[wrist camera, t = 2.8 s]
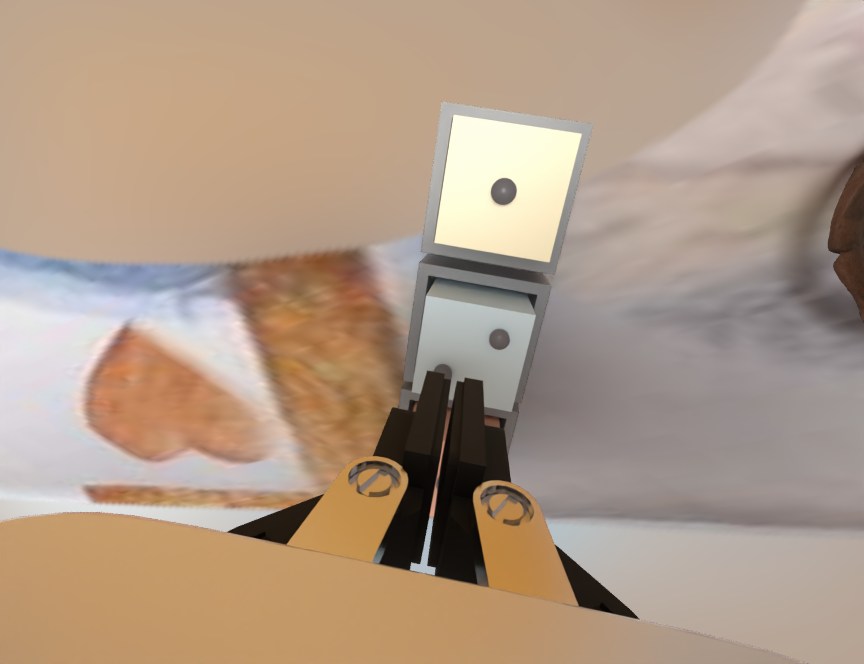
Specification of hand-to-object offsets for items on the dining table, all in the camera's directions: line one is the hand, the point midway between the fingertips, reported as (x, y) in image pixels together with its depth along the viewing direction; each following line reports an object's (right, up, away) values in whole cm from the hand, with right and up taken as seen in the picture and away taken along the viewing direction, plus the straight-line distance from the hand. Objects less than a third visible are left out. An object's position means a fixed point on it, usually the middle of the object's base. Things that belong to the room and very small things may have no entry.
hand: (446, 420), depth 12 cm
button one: (+3, +9, +6) cm, 11 cm away
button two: (+2, +3, +9) cm, 9 cm away
